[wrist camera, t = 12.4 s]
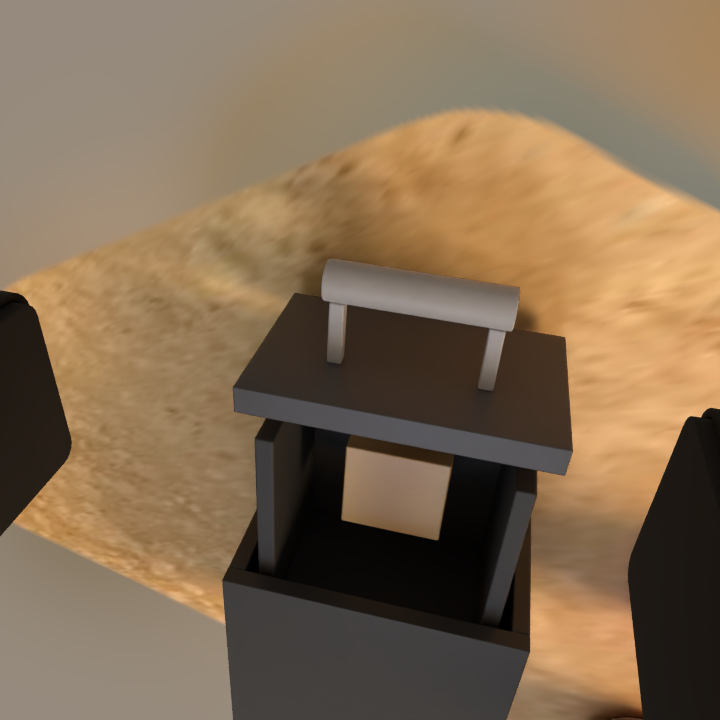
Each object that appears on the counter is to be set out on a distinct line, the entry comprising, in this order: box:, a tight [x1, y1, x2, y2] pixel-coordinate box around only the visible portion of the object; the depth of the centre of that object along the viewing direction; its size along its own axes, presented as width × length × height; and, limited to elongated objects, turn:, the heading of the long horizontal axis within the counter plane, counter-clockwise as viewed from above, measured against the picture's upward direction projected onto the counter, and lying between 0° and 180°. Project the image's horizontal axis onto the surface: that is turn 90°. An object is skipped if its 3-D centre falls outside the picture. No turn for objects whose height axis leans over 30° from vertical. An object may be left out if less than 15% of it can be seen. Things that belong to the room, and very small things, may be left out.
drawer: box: [233, 258, 573, 629], centre depth 30 cm, size 18×12×8 cm
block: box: [341, 434, 454, 540], centre depth 31 cm, size 4×4×4 cm
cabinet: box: [222, 509, 531, 720], centre depth 37 cm, size 15×14×10 cm
